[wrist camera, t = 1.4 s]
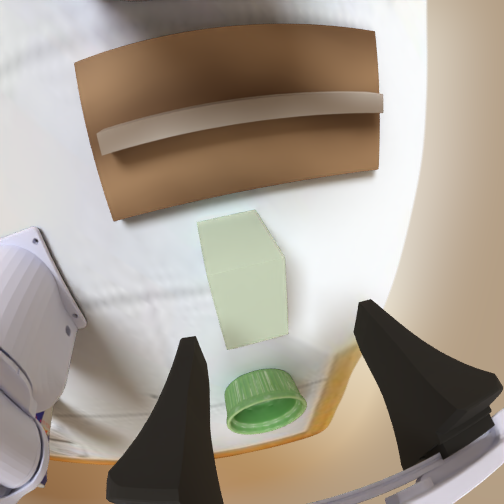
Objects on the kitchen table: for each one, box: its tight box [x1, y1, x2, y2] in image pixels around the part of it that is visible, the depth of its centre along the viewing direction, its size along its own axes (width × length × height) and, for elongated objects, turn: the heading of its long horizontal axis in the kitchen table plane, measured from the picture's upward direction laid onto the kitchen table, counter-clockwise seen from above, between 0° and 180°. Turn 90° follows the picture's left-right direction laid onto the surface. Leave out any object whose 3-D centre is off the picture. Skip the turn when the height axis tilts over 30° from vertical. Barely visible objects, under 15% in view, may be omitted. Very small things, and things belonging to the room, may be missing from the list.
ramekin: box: [225, 369, 307, 434], centre depth 30 cm, size 9×9×4 cm
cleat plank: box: [74, 24, 383, 221], centre depth 15 cm, size 10×18×3 cm, turn 97°
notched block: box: [197, 210, 288, 350], centre depth 19 cm, size 6×4×6 cm, turn 7°
